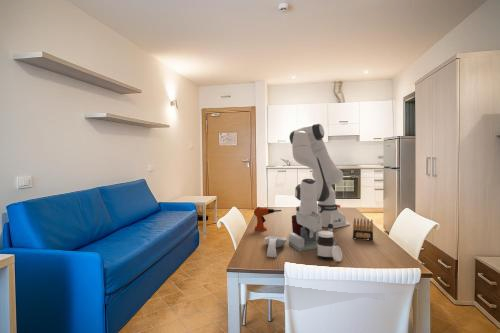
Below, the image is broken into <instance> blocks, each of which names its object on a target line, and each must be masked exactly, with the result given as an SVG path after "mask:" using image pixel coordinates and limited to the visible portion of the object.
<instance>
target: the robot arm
mask: <svg viewBox="0 0 500 333" xmlns="http://www.w3.org/2000/svg"><path fill="white" fill-rule="evenodd" d="M324 137H325V129H324V126H323V125H322V124H321V123H312V124H309V125H304V126H302V127H300V128H298V129H294V130H292V131H291V132H290V134H289V142H290V144H291V145H292V157H293V159H294V161H295V162H296V163H298V164H300V165H301V166H304V167H308V168H310V169H311V170H312V172H311V173H312V174H311V175H312V178H313V179H312V178H305V179H302V180H301V181H300V182H301V183H300V184H297V185H296V187H295V189H294V191H295V194H294V197H295V199H297V200H298V201H300V202H299V203H300V205H299V206H296V207H295V211H296V214H295V215H296V220H297V223H298V224H300V225H302V226H303V228H305V227H306V228H308V229H309V231H310V233H309V237H310V238H312V237H313V233H314V232H319V231H323V227H324V228H328V224H333V229H336V228H341V227H347V226H350V225H351V224H350V222H348V221H347V217H346V215H345V213H343V212H341V211H340V210H339V209H340V208H341V207H342V206H341V204H336V191H335V190H334V188H333V186H332V185H338V184H340V183H342V181H343V179H344V173H343V170H341V169H340V168H339V167H337V165H336V164H335V163H334V161H333V160H332V158H331V156H330V154H329V151H328V149H327V147H326V144H325V142H324V140H323V139H324ZM338 208H339V209H338Z"/></svg>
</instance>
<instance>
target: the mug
mask: <svg viewBox="0 0 500 333" xmlns="http://www.w3.org/2000/svg"><path fill="white" fill-rule="evenodd" d="M301 228H303V226H302V225H300V224H298V223H297V220H296V214H294V215H292V216H291V229H292V233H295V234H297V235H299V236H300V237H301Z"/></svg>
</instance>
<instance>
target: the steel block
mask: <svg viewBox="0 0 500 333" xmlns="http://www.w3.org/2000/svg"><path fill="white" fill-rule="evenodd" d="M309 233H310V231H309V229H308V228H306V227H305V228H301V237H302V238H304V243H305V242H313V241H316V232H314V233H313V237H312V238H310V237H309Z"/></svg>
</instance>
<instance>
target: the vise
mask: <svg viewBox="0 0 500 333" xmlns="http://www.w3.org/2000/svg"><path fill="white" fill-rule="evenodd" d="M288 236H289V239H288V240H289V241H288V245H290V246H291V247H292V248H294V249H296V250H297V252H301V251H308V250H315V249H316V250H317V240H316V241H313V242H305V243H304V238H302V237H300V236H299V235H297V234H295V233H293V232H289V234H288ZM334 246H337V242H335V241H334Z"/></svg>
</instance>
